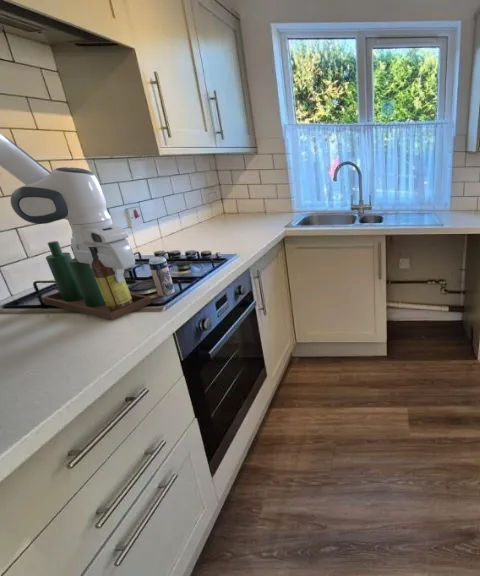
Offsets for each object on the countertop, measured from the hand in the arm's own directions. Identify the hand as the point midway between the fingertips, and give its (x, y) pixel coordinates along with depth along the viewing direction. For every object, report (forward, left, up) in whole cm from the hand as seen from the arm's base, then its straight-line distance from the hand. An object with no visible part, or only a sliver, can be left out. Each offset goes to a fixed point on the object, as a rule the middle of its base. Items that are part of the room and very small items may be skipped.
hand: (111, 279), depth 101 cm
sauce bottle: (0, 0, -9) cm, 9 cm away
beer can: (+2, +13, -10) cm, 16 cm away
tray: (-11, 0, -10) cm, 15 cm away
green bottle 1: (-22, 0, -9) cm, 24 cm away
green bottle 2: (-11, 0, -9) cm, 14 cm away
